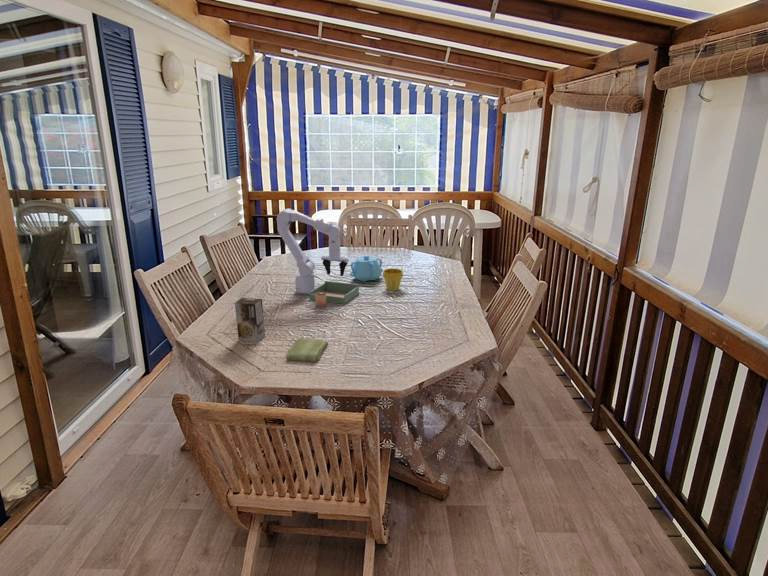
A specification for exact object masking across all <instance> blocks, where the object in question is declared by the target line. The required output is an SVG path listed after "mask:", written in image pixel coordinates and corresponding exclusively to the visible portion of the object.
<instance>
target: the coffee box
mask: <svg viewBox="0 0 768 576" xmlns="http://www.w3.org/2000/svg"><path fill="white" fill-rule="evenodd" d="M234 308H235V310H234V311H235V317H236V326H237V328H236V329H237V335H238V336H237V338H238V341H245V342H260V341H261V340H263V339H264V338H265V337H266V331H265V320H264V319H265V318H264V308H263V299H262V298H251V297H241V298H240V299H238V300H237V301H235V302H234Z"/></svg>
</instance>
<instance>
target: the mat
mask: <svg viewBox="0 0 768 576" xmlns="http://www.w3.org/2000/svg"><path fill="white" fill-rule="evenodd" d="M336 305H337V303H334V302H327V306H325V307H316V300H313V302H311V303H310V304H308V305H307V306H304V309H311V310H319V311H327V312H328V311H329V310H330V309H332V308H333V307H335V306H336Z"/></svg>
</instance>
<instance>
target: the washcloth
mask: <svg viewBox="0 0 768 576" xmlns="http://www.w3.org/2000/svg"><path fill="white" fill-rule="evenodd" d="M328 344H329V341H328V340H324V339H316V338H303V337H300V338H297V340H295V341H294V343H293V344H292V345H291V347H290V348H289V349H288V351H287V353H286V355H285V358H286V360H287V361H295V362H301V361H303V362H311V363H316V362H318V361H320V359H321V356H322V355H323V352H324V350H325V348H326V347H327V345H328Z"/></svg>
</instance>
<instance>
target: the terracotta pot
mask: <svg viewBox="0 0 768 576" xmlns="http://www.w3.org/2000/svg"><path fill="white" fill-rule="evenodd" d="M315 298H316V300H315V301H316V307H325V306H327V303H328V302H327V299H326V293H325V292H317V293H315Z"/></svg>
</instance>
